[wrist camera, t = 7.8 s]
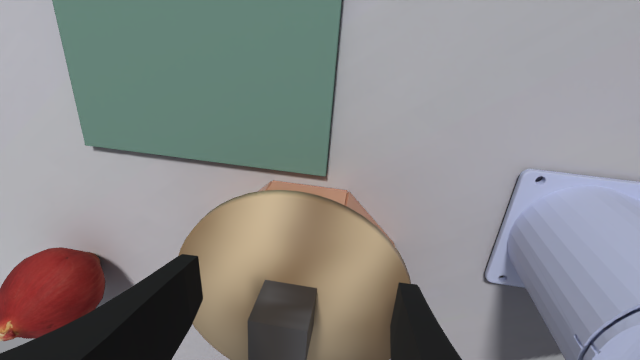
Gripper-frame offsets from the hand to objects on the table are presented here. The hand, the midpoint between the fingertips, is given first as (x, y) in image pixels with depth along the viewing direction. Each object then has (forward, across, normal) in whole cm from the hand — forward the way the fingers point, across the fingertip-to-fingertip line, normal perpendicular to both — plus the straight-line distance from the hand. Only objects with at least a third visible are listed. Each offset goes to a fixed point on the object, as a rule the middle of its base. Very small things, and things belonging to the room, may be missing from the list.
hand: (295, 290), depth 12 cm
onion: (+11, +18, +10) cm, 23 cm away
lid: (+6, +1, +6) cm, 9 cm away
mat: (+10, +8, -8) cm, 15 cm away
